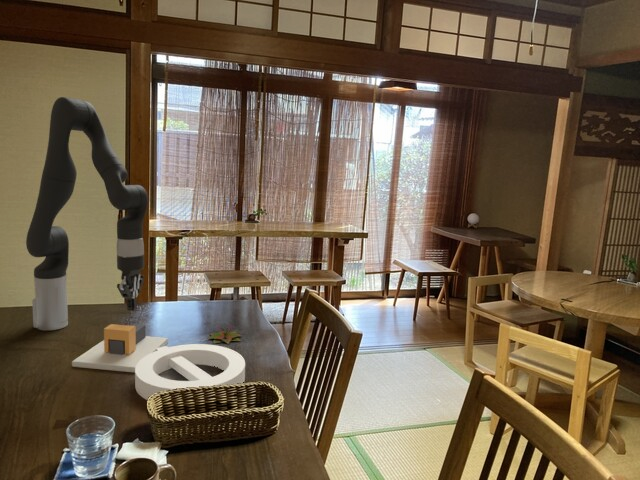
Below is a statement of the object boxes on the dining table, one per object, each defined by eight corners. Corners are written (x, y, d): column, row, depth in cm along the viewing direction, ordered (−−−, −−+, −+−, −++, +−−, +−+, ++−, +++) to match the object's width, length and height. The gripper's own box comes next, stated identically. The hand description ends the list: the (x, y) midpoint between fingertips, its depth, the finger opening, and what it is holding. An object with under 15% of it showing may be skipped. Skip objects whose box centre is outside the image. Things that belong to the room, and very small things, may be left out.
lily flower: (246, 344, 157) (247, 330, 156) (209, 347, 153) (209, 333, 152) (239, 331, 168) (239, 318, 167) (204, 334, 164) (204, 321, 163)
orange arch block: (104, 352, 140) (103, 328, 139) (111, 346, 144) (111, 324, 143) (129, 354, 139) (128, 331, 138) (135, 349, 143) (135, 326, 142)
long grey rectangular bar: (110, 353, 140) (109, 340, 139) (133, 336, 154) (133, 324, 153) (123, 354, 140) (123, 341, 139) (145, 337, 153) (145, 325, 153)
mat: (72, 366, 134) (72, 361, 134) (113, 337, 156) (113, 333, 155) (135, 372, 132) (135, 367, 132) (168, 342, 154) (168, 338, 154)
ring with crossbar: (158, 356, 144) (158, 341, 143) (252, 362, 144) (253, 347, 143) (116, 403, 117) (115, 385, 116) (232, 411, 116) (233, 392, 115)
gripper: (129, 248, 151) (130, 302, 154) (106, 256, 138) (108, 315, 141) (152, 249, 150) (153, 304, 153) (132, 258, 137) (133, 317, 140)
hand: (131, 309), depth 147 cm, fingers closed
